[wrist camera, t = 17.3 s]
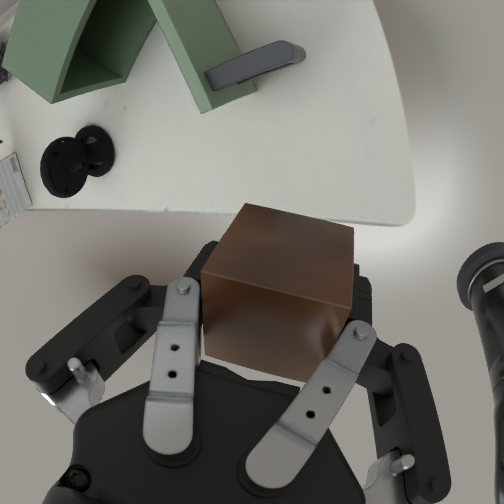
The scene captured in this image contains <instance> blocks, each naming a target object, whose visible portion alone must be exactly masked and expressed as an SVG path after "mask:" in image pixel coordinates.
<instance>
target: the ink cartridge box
mask: <svg viewBox="0 0 504 504" xmlns="http://www.w3.org/2000/svg"><path fill="white" fill-rule="evenodd" d="M31 205H32V203H31V200H30V197H29V194H28V191H27V188H26V185H25V182H24V179H23V176H22V173H21V170H20V166H19V163H18V160H17V156H16V153H13V154H11V155H9V156H7V157H5V158H4V159H2V160H0V228H2V227H3V226H4V225H5V224H6V223H8V222H9V221H10V220H11V219H12V218H14V217H16V216H17V215H19V214H20V213H21V212H23V211H24V210H26V209H27V208H28V207H30V206H31Z"/></svg>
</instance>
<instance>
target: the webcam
mask: <svg viewBox="0 0 504 504" xmlns="http://www.w3.org/2000/svg"><path fill="white" fill-rule="evenodd" d="M87 136H92V137H94V138H96V139H97V141H96V142H94V143H91V144H85V145H83V141H84V139H85V138H86V137H87ZM62 141H63V142H62ZM113 160H114V150H113V145H112V143H111V141H110V139H109V137H108V135H107V134H106V133H105V132H104V131H103V130H102V129H100V128H99V127H96V126H86V127H84V128H82V129H81V130H80V131H79V132H78V133H77V134H76V136H75V138H72V137H61V138H58V139H56V140H54V141H53V142H51V143H50V144H49V146H48V147H47V148H46V150H45V151H44V153H43V155H42V159H41V162H40V173H41V178H42V181H43V184H44V186H45V187H46V188H47V190H48V191H49V192H50V194H52V195H54V196H56V197H59V198H68V197H71V196H73V195H75V194H76V193H78V192H79V191H80V190H81V189H82V187H83V185H84V184H85V182H86V179H87V176H88V175H90V176H94V177H100V176H103V175H105V174H106V173H107V172H108V171H109V170H110V169H111V167H112V164H113ZM98 162H99V163H102V165H100V166H99V167H95V166H93V165H91V164H94V163H98Z"/></svg>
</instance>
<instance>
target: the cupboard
mask: <svg viewBox="0 0 504 504" xmlns="http://www.w3.org/2000/svg"><path fill="white" fill-rule="evenodd" d="M156 21H157V19H156V16H155V14H154V12H153V10H152V8H151V6H150V4H149V2H148V0H21V2H20V4H19V7H18V10H17V13H16V16H15V19H14V22H13V25H12V28H11V31H10V35H9V38H8V42H7V46H6V50H5V54H4V58H3V62H2V67H3V68H5V69H6V70H7V71H9V72H10V73H11V74H13V75H14V76H15V77H16V78H18V79H19V80H20V81H22V82H23V83H24V84H25V85H27V86H28V87H29V88H31V89H32V90H33V91H35V92H36V93H37V94H39V95H40V96H41V97H42V98H44V99H45V100H46V101H48V102H49V103H50V104H53V103H56V102H59V101H62V100H65V99H68V98H71V97H74V96H77V95H81V94H84V93H87V92H90V91H94V90H97V89H101V88H105V87H108V86H112V85H116V84H120V83H124V82H125V80H126V78H127V76H128V74H129V71H130V69H131V67H132V65H133V63H134V61H135V59H136V57H137V55H138V53H139V51H140V49H141V48H142V46H143V44H144V42H145V40H146V38H147V36H148V35H149V33H150V31H151V29H152V27H153V26H154V24H155V22H156Z"/></svg>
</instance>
